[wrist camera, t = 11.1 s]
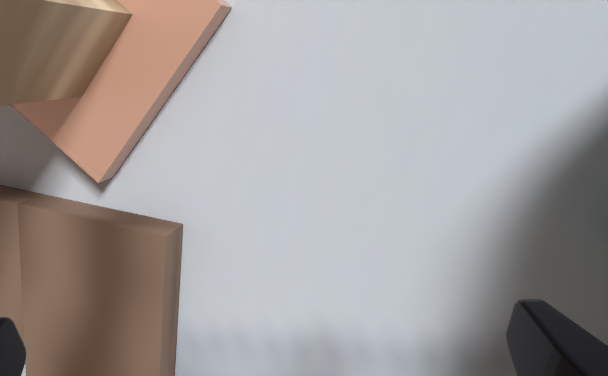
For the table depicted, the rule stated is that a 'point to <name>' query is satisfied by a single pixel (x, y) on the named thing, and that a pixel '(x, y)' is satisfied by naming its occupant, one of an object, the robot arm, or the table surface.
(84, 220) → the board
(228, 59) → the table surface
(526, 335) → the robot arm
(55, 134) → the tile
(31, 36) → the block
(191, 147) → the table surface
